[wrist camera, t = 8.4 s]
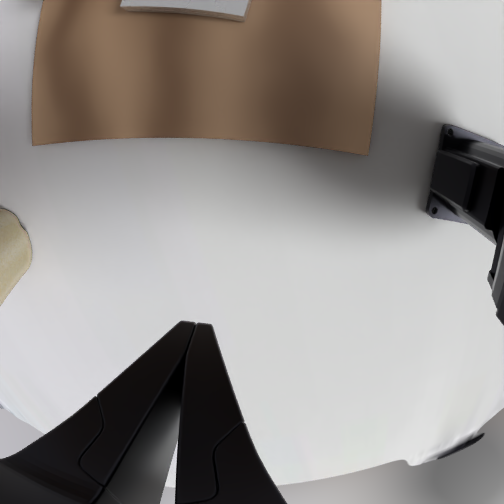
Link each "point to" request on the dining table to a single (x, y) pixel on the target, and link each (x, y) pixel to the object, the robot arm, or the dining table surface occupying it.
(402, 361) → the dining table surface
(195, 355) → the robot arm
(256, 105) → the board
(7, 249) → the flower pot
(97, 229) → the dining table surface
